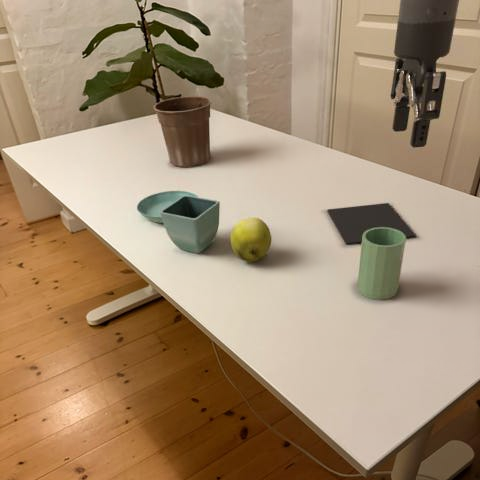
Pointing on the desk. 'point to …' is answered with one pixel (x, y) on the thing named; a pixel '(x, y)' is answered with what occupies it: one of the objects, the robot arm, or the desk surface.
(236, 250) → the apple
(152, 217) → the saucer
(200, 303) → the desk surface
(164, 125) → the plant pot
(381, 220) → the mat
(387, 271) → the cup
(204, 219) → the flower pot
